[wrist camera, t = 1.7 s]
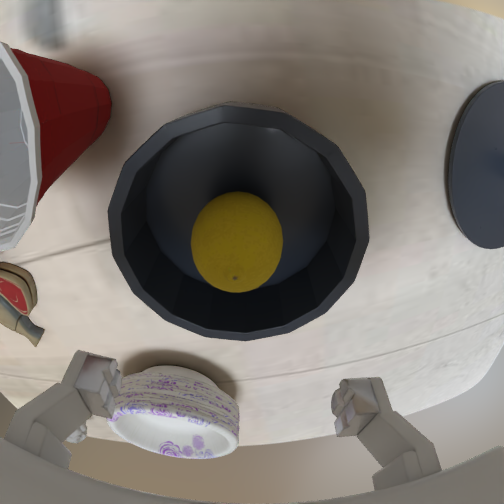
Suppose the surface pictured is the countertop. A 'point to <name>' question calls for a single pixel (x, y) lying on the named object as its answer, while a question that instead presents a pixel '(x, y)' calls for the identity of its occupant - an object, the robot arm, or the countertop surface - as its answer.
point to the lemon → (236, 242)
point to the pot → (243, 180)
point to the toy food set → (18, 301)
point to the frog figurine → (78, 434)
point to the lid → (480, 169)
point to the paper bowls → (176, 414)
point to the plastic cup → (41, 130)
